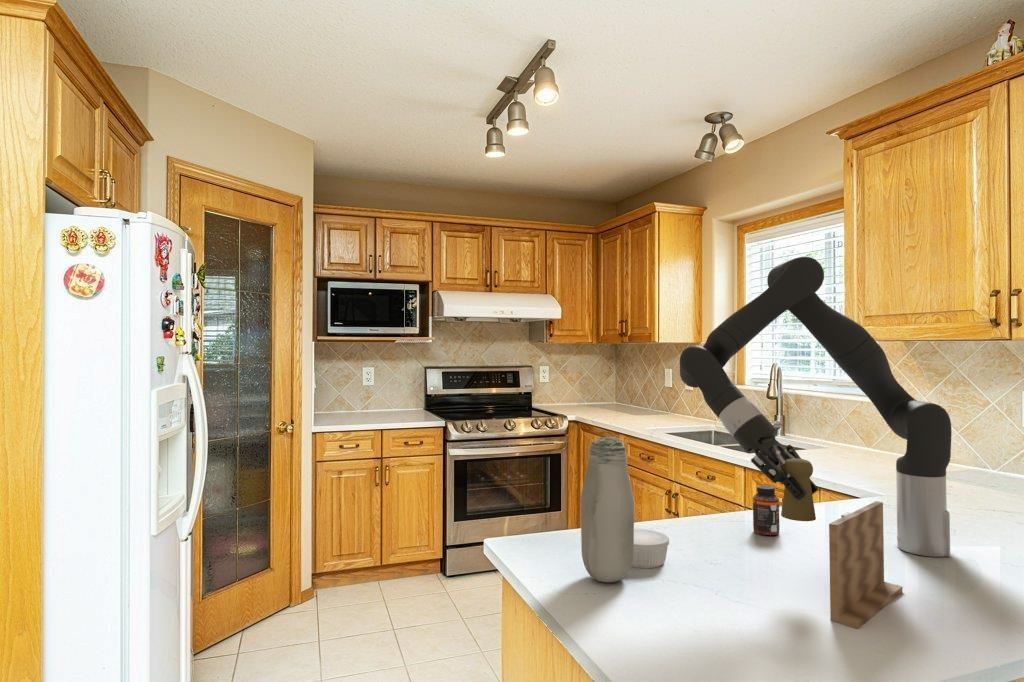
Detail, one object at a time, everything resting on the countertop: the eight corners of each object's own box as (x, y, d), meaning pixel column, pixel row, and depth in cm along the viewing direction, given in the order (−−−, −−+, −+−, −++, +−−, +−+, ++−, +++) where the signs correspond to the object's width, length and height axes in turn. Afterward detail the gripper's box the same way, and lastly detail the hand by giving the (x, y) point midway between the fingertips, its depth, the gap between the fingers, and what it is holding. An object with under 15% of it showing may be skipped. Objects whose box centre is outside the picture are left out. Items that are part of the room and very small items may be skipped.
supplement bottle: (782, 537, 142) (781, 490, 142) (755, 536, 143) (755, 489, 143) (776, 530, 148) (775, 484, 148) (751, 528, 149) (750, 483, 149)
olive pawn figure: (774, 512, 116) (774, 456, 116) (804, 512, 116) (803, 455, 116) (791, 521, 110) (791, 462, 110) (822, 520, 110) (822, 461, 110)
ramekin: (605, 556, 130) (605, 532, 130) (647, 549, 134) (647, 526, 134) (635, 574, 120) (635, 548, 120) (680, 565, 124) (679, 540, 124)
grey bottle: (623, 593, 110) (621, 442, 110) (573, 582, 115) (572, 438, 116) (641, 576, 118) (640, 436, 119) (594, 566, 124) (593, 432, 124)
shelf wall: (877, 585, 113) (875, 501, 113) (902, 591, 110) (901, 505, 110) (830, 619, 99) (829, 523, 99) (858, 628, 96) (856, 529, 96)
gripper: (741, 415, 114) (806, 489, 105) (776, 410, 124) (838, 477, 114) (716, 440, 118) (777, 513, 109) (752, 433, 128) (810, 499, 118)
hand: (808, 494), depth 112 cm, fingers closed on olive pawn figure, 4 cm apart
